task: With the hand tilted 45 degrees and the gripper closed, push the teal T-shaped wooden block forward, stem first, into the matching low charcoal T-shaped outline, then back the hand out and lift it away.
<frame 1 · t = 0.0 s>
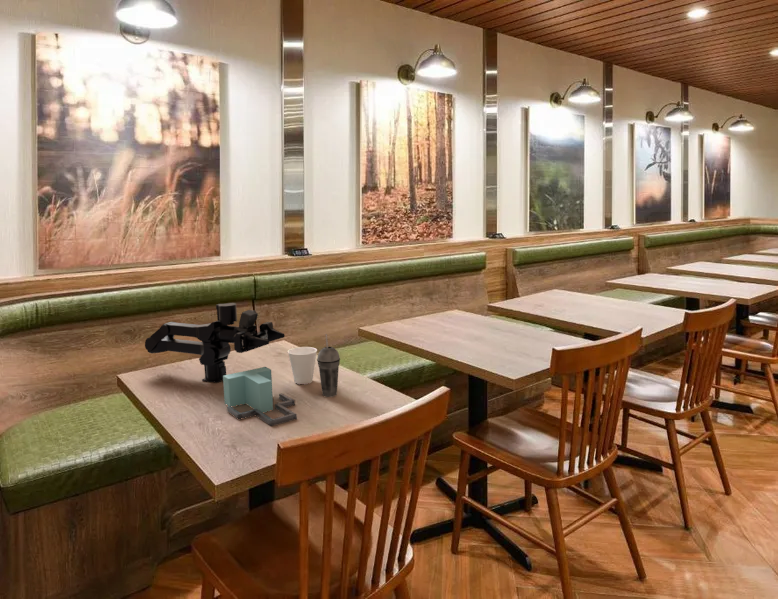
hand: (276, 338, 187), 17 cm above the table, tool horizontal, fingers open, 9 cm apart
t block: (256, 405, 175), on the table
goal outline: (269, 413, 169), on the table
cup: (303, 382, 196), on the table
beverage cup: (329, 395, 184), on the table
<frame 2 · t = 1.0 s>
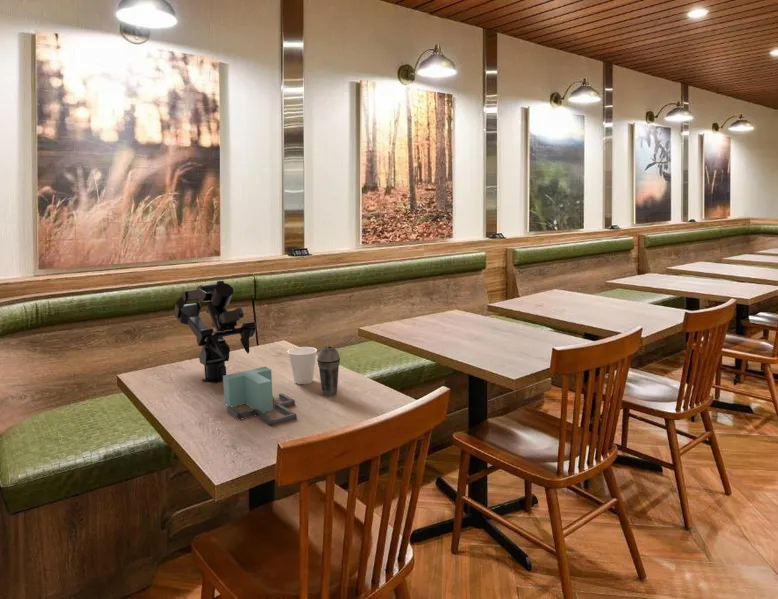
hand: (236, 355, 183), 13 cm above the table, tool tilted 45°, fingers open, 8 cm apart
nothing on the table moved.
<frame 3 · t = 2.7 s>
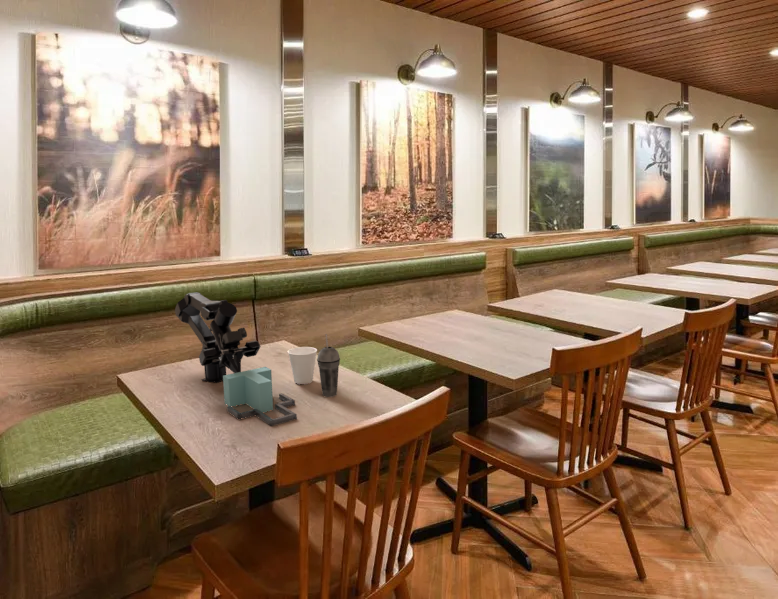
hand: (239, 375, 183), 7 cm above the table, tool tilted 45°, fingers closed
nothing on the table moved.
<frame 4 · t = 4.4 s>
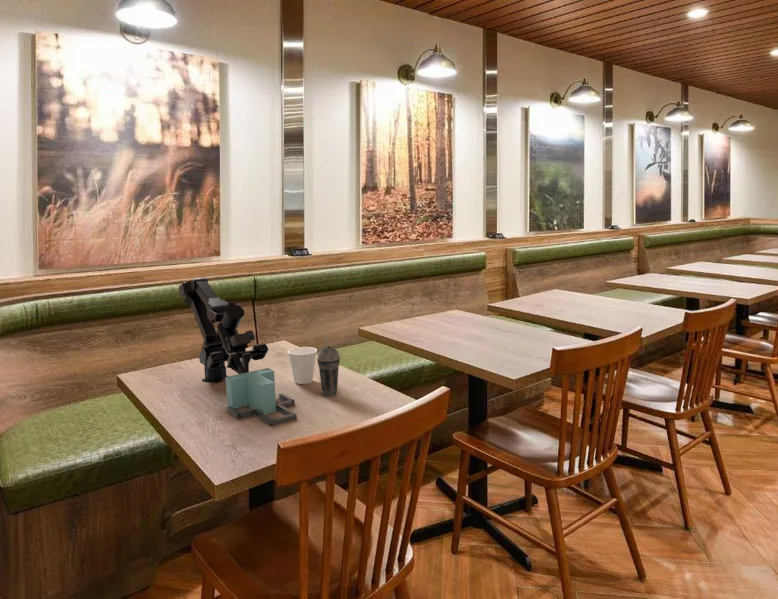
hand: (247, 378, 178), 7 cm above the table, tool tilted 45°, fingers closed, pressing on t block
t block: (258, 406, 174), on the table, touching gripper
everything else where it was.
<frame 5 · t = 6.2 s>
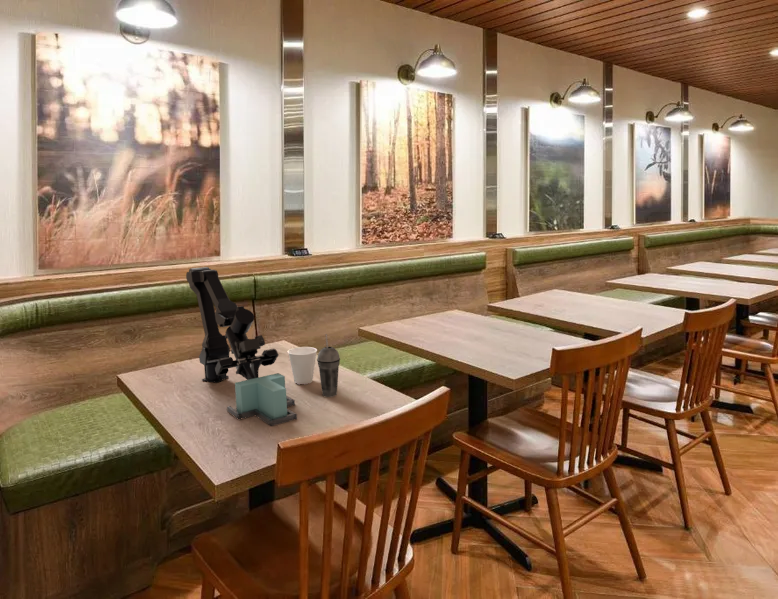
hand: (257, 385, 173), 6 cm above the table, tool tilted 45°, fingers closed, pressing on t block
t block: (269, 413, 169), on the table, touching gripper
everything else where it was.
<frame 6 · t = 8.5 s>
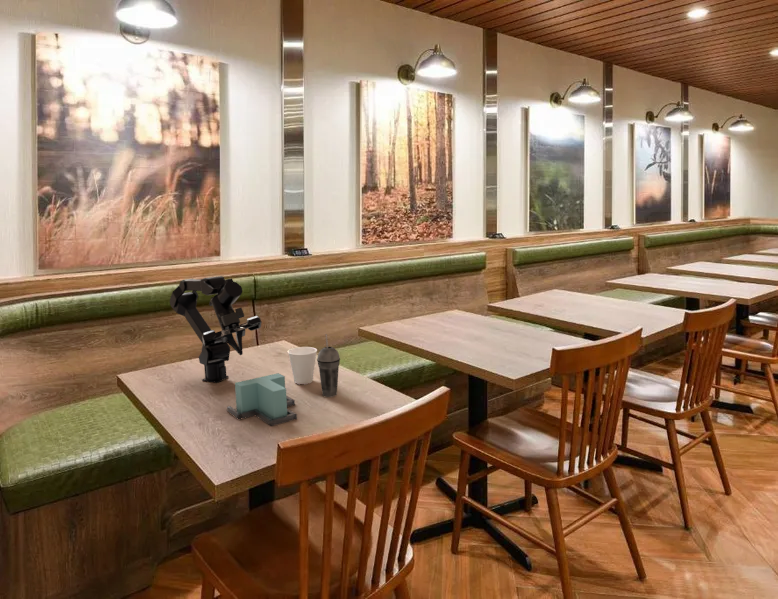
hand: (241, 354, 185), 12 cm above the table, tool tilted 35°, fingers closed
t block: (269, 413, 169), on the table
everything else where it was.
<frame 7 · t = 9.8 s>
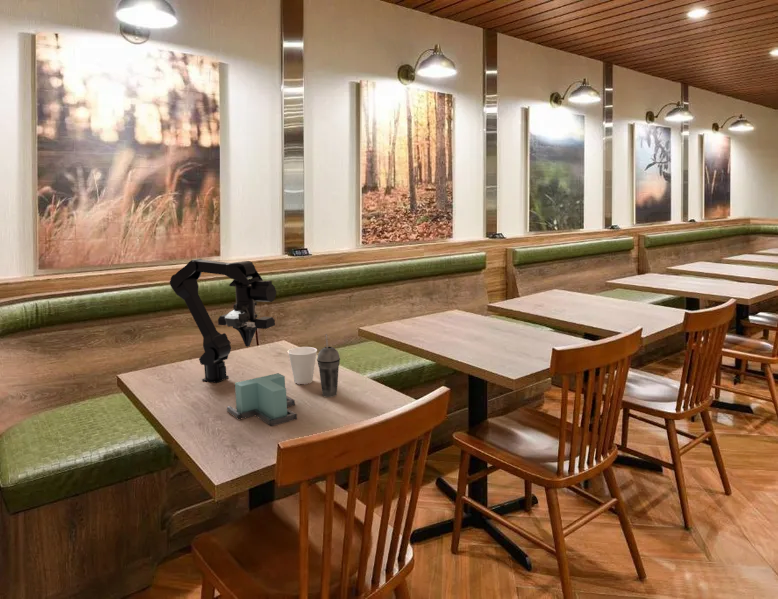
hand: (247, 346, 192), 13 cm above the table, tool pointing down, fingers closed
nothing on the table moved.
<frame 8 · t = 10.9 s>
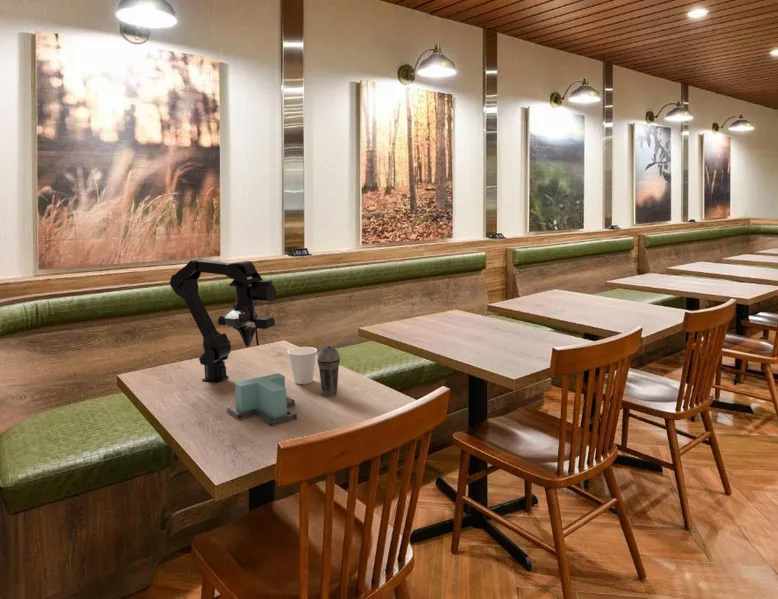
hand: (247, 346, 192), 13 cm above the table, tool pointing down, fingers closed
nothing on the table moved.
at the end: t block 0.1 cm off-centre on the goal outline, point 0.0 cm above the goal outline's base; t block tilted 0° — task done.
